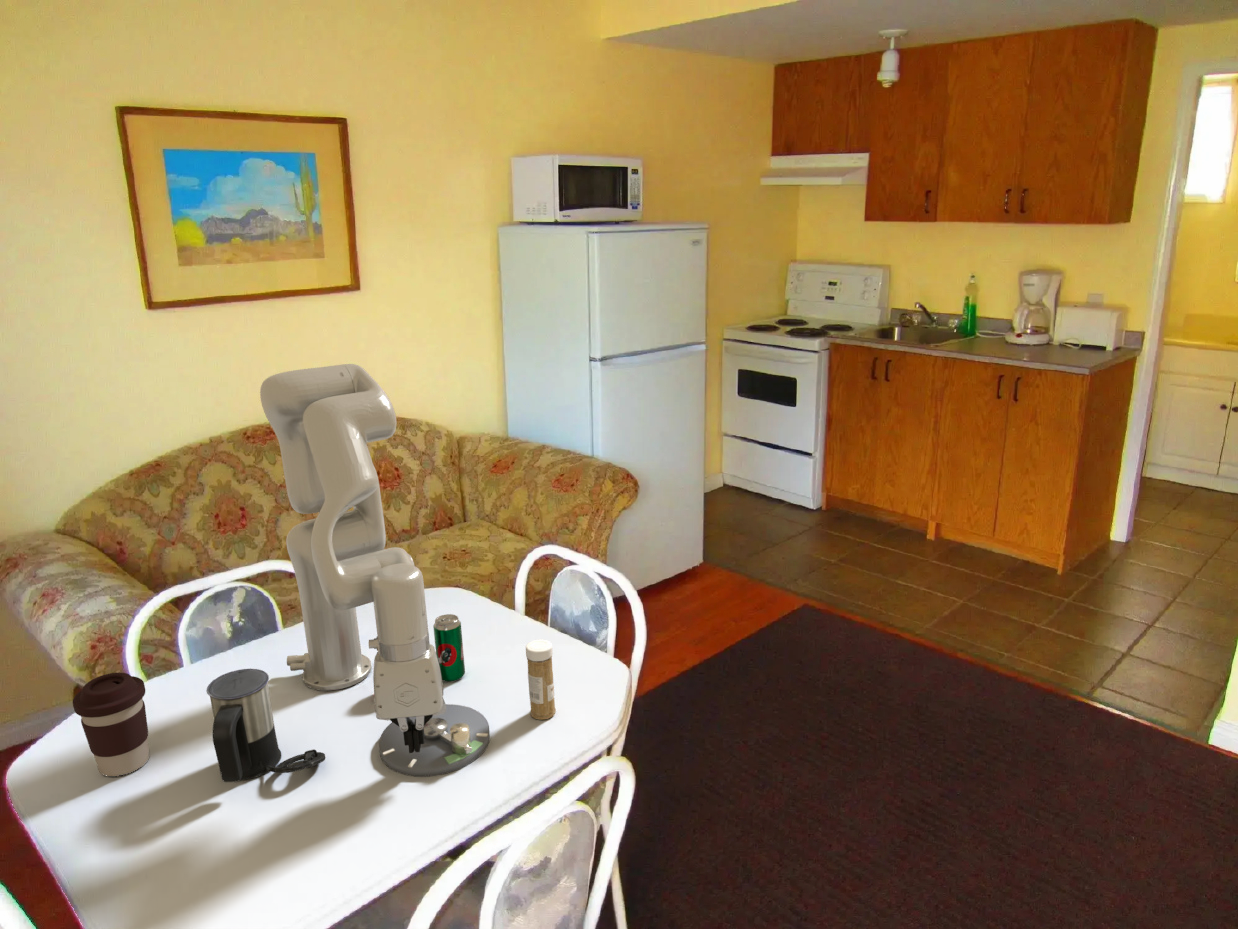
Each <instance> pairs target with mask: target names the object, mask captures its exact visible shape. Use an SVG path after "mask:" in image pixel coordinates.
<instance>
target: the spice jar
mask: <svg viewBox="0 0 1238 929" xmlns="http://www.w3.org/2000/svg"><path fill="white" fill-rule="evenodd" d="M553 654H554V652H553V643H551V642H550V641H549V640H546V639H535V640H531V641H530V642H528V643H527V644H526V646H525V657H526V660H527V679H528V694H529V703H530V704H529V705H530V711H529V713H530V716H531V717H532V718H534V719H535V720H539V721H541V720H542V721H543V720H544V721H545V720H548V719H551V718H552V717H553V716H555V714H556V712H557V711H556V710H557V709H556V704H555V683H554V670H553V658H552V657H553Z"/></svg>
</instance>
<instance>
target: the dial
mask: <svg viewBox="0 0 1238 929" xmlns="http://www.w3.org/2000/svg"><path fill="white" fill-rule="evenodd" d="M445 704H446V703H445ZM432 718H441V719H444V720H446V721H447V725H448V732H447V733H448V734H450V728H451V727H452V726H453V725H455V724H458V723H465V724H467V725H468V726H469V732H470V743H471V747H472V751H471V752H470V753H468V754H465V753H461V754H458V753H454V752H453V751H452V745H450V744H449V743H447V742H445V741H444V740H442V739H440V738H439V739H435V740H428V739H425V742H424V744H421V747H420V752H415V749H414V752H413V753H409V746H408V745H406V746H405V743H404V735H403V731H401V729H400V727H399V726H397V725H396V724H395V723H393V722H392V721H391V722H390V723H388V725H387V726H386V727H385V728H384V729H383V731H382V733H381V734H380V736H379V742H378V747H379V756H380V759H381V761H382V762H383V764H384V765H385V766H386V767H387V768H389V769H390V770H392V771H393V772H395V773H398V774H401V775H405V776H410V777H421V778H422V777H434V776H435V777H436V776H440V775H445V774H449V773H453V772H456V771H458V770H461V769H463V768H465V767H467V766H468V765H470V764H472V763H473V762H474V761H476V760H477V759H478V758H479V757H481V756H482V755H483V753H484V752H485V751H486V749H487V748H488V746H489V743H490V738H491V733H490V732H491V731H490V725H489V724H490V723H489V722H488V719H487V718H486V717H485V716H484V715H483V714H482V713H481V712H480V711H478V710H476V709H473V708H472V707H469V706H465V705H459V704H453V703H452V704H451V703H450V704H449V703H448V704H446V712H445V713H444V714H441V715H438V716H433V717H432ZM432 718H431V719H432ZM410 719H411V720H412V721H413V722H415V719H416V717H410ZM450 735H451V734H450Z"/></svg>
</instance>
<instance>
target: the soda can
mask: <svg viewBox="0 0 1238 929" xmlns="http://www.w3.org/2000/svg"><path fill="white" fill-rule="evenodd" d="M433 637H434V649H435V652H436V655H437V658H438V662H439V666H440V671H441V677H442V682H447V683H450V682H451V683H452V682H453V683H454V682H456V681H459V680H461V679H462V678H463V677H464V676H465V674H466V668H465V667H466V666H465V657H464V656H465V655H464V644H463V633H462V622H461V621H460V619H459V616H458V615H456V614H452V613H450V614H449V613H446V614H442V615H439V616H438V617H436V618H435V620H434V624H433Z"/></svg>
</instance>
